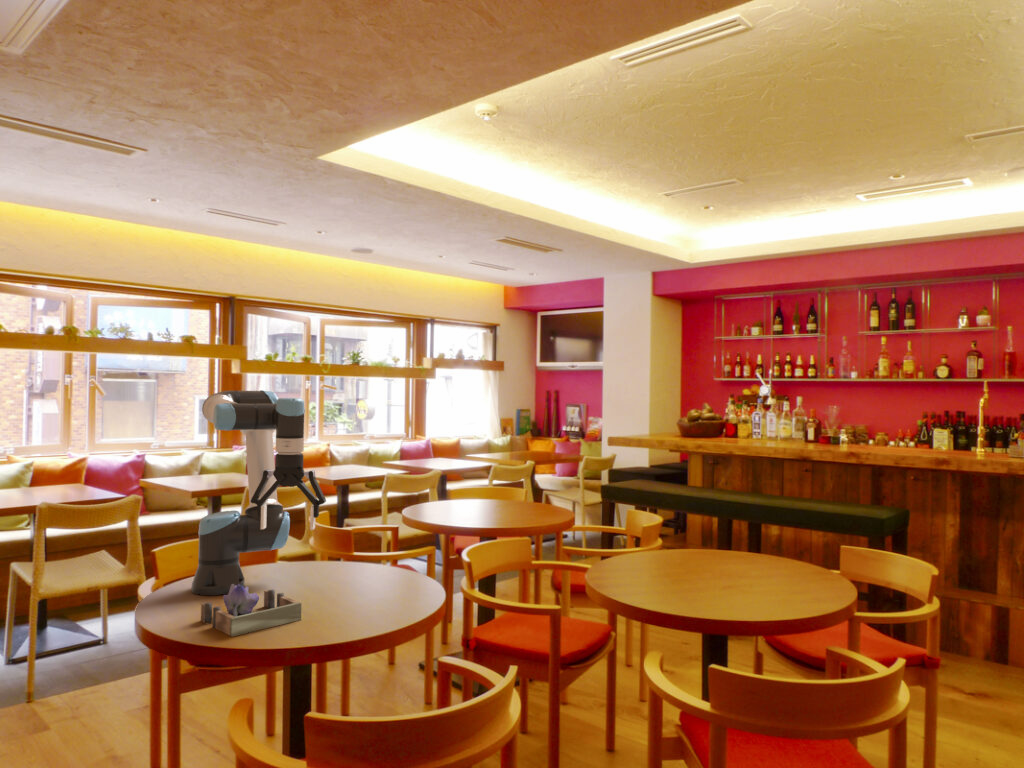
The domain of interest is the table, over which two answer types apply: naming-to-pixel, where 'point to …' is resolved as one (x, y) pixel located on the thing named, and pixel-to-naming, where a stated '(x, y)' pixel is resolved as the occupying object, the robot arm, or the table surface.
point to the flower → (240, 600)
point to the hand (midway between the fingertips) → (288, 528)
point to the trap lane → (254, 615)
